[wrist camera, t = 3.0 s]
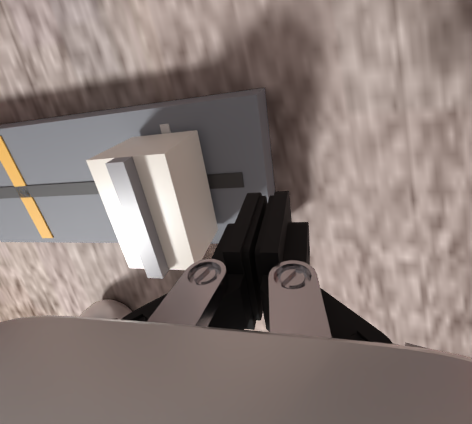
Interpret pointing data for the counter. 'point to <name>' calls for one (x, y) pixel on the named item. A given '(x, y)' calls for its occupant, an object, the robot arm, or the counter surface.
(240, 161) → the console board
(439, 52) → the counter surface
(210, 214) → the fader cap
